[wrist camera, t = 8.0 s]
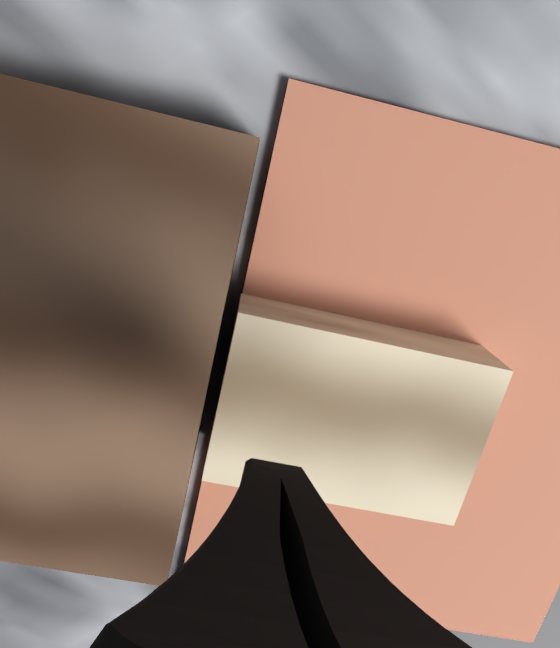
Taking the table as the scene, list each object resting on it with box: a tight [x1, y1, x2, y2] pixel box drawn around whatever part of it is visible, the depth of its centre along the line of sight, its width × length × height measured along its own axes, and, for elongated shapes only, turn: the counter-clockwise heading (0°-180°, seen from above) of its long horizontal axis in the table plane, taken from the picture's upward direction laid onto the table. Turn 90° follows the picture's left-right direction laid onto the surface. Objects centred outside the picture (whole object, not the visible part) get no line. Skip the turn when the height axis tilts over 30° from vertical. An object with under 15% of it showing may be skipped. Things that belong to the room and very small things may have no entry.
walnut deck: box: [0, 74, 259, 586], centre depth 17 cm, size 16×13×2 cm
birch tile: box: [202, 293, 514, 526], centre depth 18 cm, size 6×9×2 cm, turn 77°
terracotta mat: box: [184, 78, 560, 642], centre depth 20 cm, size 20×16×1 cm
